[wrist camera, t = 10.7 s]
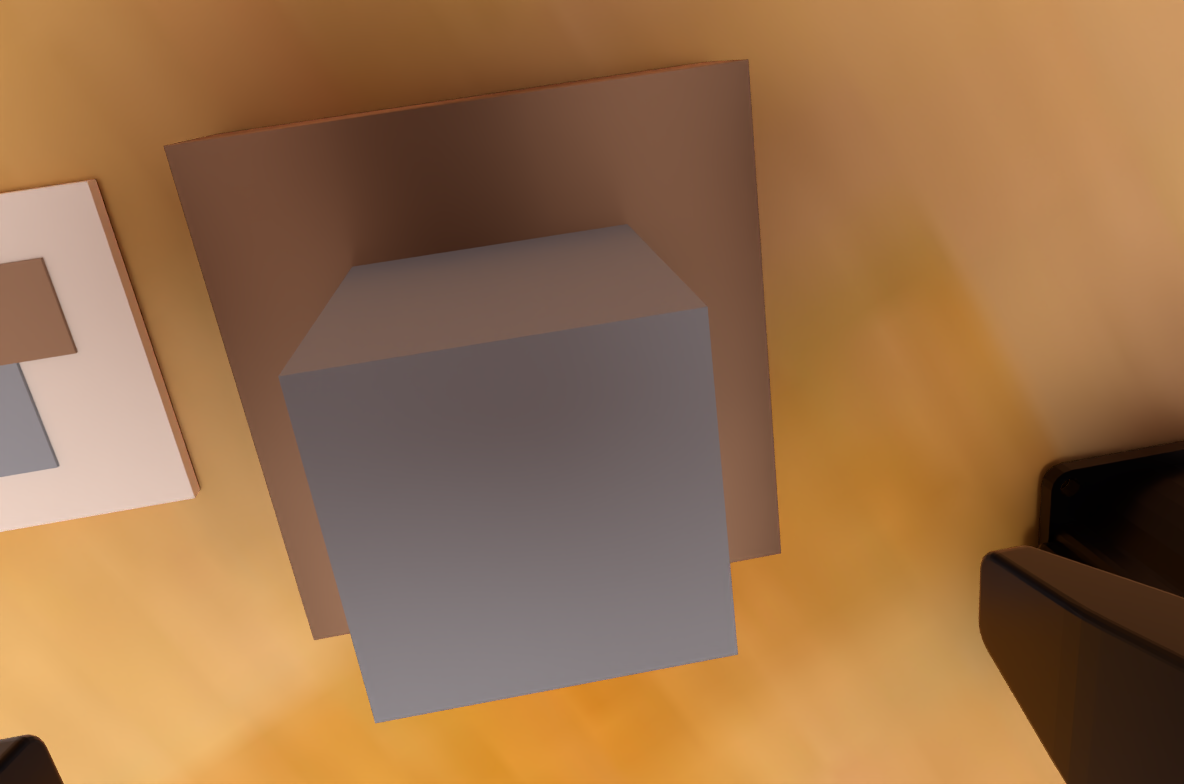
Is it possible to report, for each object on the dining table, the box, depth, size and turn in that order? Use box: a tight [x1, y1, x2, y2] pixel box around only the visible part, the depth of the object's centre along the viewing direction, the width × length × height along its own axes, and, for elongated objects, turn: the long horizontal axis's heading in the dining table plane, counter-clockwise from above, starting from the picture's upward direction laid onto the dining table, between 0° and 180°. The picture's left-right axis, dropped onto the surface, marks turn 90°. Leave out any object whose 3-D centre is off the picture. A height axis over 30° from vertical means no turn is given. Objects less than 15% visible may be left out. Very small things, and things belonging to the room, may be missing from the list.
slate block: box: [278, 224, 738, 723], centre depth 14 cm, size 5×5×6 cm
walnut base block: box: [164, 60, 781, 640], centre depth 18 cm, size 10×10×3 cm
